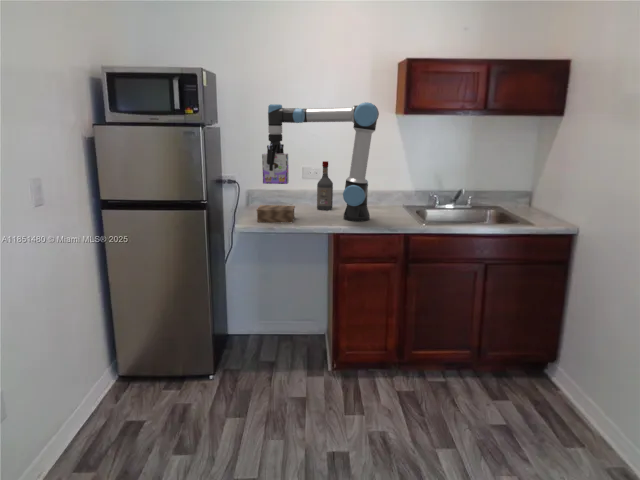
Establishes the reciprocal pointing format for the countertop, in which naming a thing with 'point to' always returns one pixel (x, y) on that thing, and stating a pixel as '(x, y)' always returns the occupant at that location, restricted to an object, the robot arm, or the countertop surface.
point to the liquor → (324, 190)
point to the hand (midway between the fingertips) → (275, 175)
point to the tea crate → (275, 213)
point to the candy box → (276, 169)
